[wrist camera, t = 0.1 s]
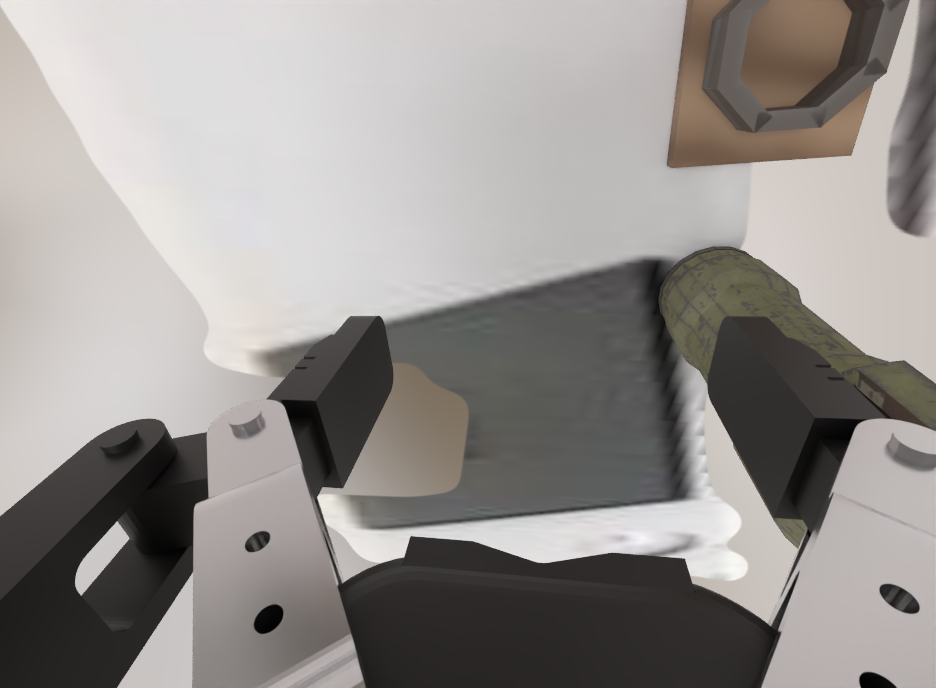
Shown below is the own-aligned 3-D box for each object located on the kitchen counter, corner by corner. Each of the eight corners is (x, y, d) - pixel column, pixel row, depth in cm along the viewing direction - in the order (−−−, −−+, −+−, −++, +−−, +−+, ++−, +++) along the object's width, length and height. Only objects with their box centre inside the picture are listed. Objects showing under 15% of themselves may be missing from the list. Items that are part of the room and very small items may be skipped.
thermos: (761, 212, 35) (2102, 933, 5) (769, 336, 40) (1465, 1068, 10) (646, 246, 38) (1075, 858, 8) (667, 358, 43) (977, 995, 13)
